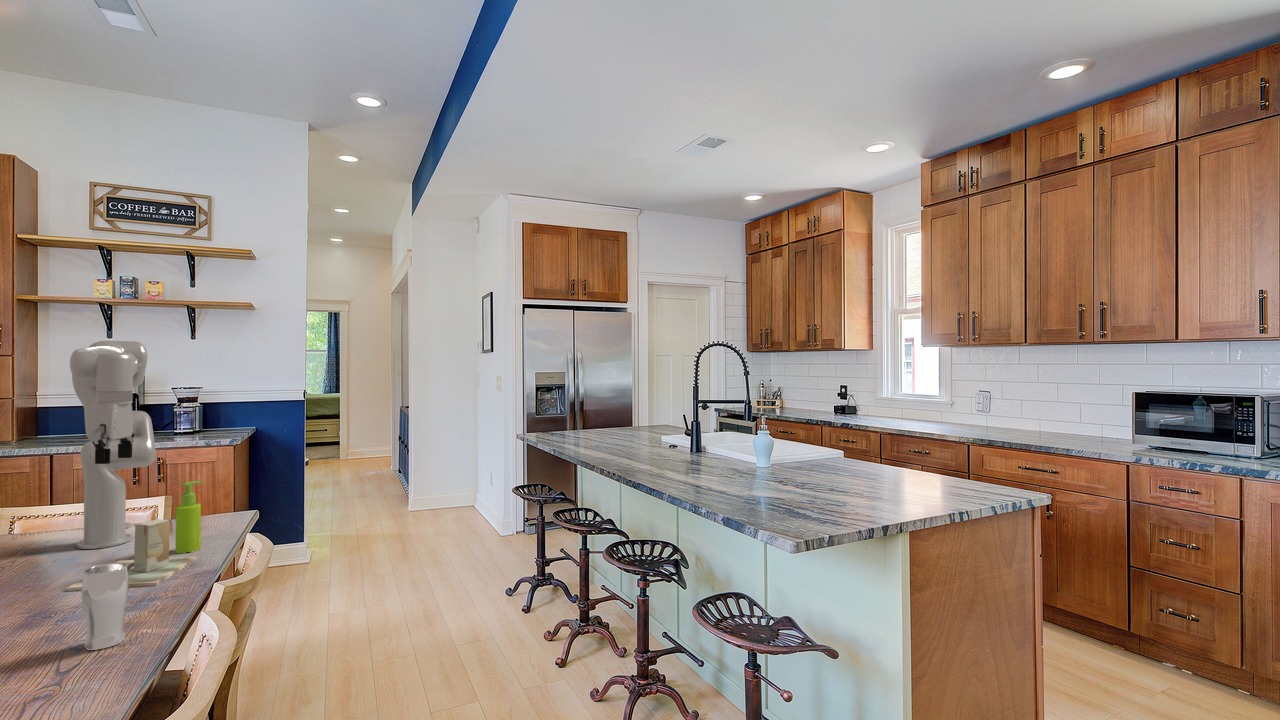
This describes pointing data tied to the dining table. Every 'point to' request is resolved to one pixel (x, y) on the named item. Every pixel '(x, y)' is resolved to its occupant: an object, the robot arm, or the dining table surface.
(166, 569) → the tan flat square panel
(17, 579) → the dining table surface
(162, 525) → the skincare box
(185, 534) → the soap dispenser
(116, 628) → the beer glass
